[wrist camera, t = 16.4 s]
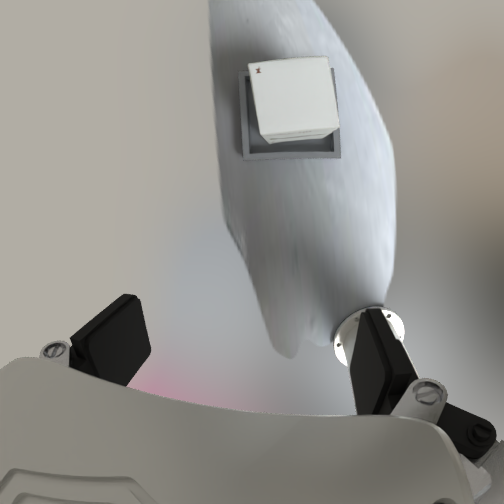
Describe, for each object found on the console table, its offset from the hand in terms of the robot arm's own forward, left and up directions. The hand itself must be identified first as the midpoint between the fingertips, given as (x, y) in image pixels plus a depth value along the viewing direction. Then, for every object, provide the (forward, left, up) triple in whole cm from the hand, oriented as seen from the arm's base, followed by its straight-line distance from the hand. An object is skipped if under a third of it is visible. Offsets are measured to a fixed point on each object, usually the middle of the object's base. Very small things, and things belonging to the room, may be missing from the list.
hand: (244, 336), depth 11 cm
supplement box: (+9, -9, -28) cm, 31 cm away
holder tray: (+10, -9, -28) cm, 31 cm away
